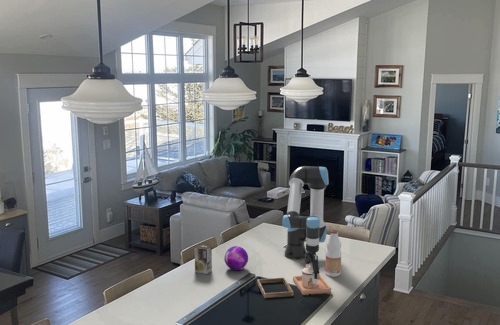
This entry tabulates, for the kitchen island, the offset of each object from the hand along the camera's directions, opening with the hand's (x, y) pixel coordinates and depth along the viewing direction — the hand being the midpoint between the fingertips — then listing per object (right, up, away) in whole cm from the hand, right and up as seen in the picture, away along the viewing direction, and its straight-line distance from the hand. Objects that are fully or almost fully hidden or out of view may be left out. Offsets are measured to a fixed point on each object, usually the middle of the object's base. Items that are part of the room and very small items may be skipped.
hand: (311, 279), depth 292 cm
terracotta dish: (0, -5, +1) cm, 5 cm away
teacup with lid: (0, -4, +1) cm, 4 cm away
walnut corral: (-22, -5, -3) cm, 22 cm away
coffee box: (-65, -1, +23) cm, 69 cm away
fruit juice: (+16, -2, +20) cm, 25 cm away
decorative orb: (-45, 0, +27) cm, 52 cm away
